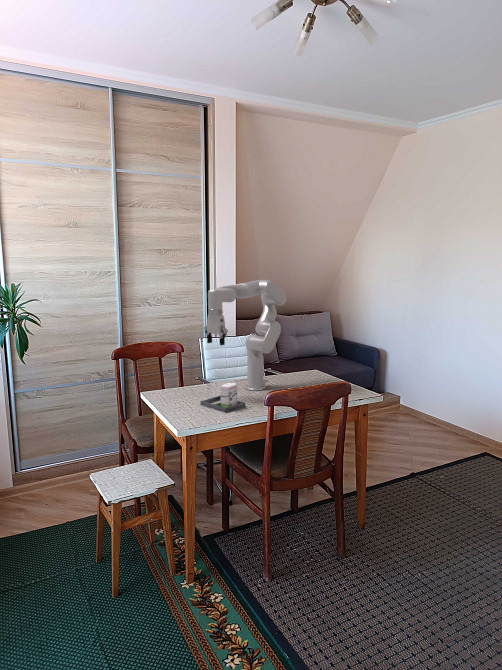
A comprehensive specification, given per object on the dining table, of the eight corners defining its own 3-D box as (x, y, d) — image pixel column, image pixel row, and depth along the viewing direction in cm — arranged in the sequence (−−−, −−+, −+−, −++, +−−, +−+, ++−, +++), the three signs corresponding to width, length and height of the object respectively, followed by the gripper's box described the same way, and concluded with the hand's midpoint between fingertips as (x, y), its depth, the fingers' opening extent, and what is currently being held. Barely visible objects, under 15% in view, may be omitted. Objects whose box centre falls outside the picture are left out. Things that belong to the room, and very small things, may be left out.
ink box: (228, 409, 236) (227, 387, 234) (220, 408, 239) (220, 385, 237) (237, 405, 243) (237, 383, 241) (230, 403, 246) (230, 382, 244)
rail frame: (219, 399, 255) (219, 395, 255) (245, 406, 242) (245, 402, 242) (200, 405, 245) (200, 401, 244) (226, 412, 232) (226, 408, 232)
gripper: (231, 313, 246) (232, 345, 249) (209, 310, 258) (210, 341, 260) (221, 314, 241) (222, 346, 243) (199, 311, 252) (199, 343, 255)
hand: (215, 344), depth 252 cm, fingers open, 9 cm apart
